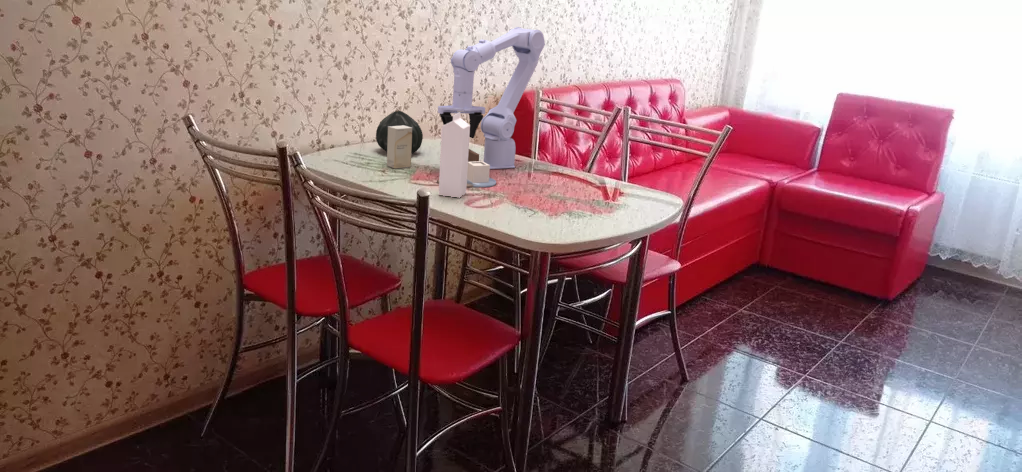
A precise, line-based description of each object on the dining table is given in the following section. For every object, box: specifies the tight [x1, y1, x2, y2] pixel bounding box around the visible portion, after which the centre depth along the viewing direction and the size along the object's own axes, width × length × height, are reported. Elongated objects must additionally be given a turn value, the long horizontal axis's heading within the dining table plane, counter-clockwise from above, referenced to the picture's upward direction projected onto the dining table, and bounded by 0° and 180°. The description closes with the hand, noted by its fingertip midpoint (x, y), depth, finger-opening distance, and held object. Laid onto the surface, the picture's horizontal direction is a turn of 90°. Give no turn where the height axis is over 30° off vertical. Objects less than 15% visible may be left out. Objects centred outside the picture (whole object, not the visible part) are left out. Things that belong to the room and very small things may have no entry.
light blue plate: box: [467, 177, 497, 189], centre depth 215 cm, size 11×11×1 cm
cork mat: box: [436, 179, 474, 189], centre depth 211 cm, size 8×8×1 cm
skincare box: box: [386, 125, 412, 169], centre depth 224 cm, size 6×4×12 cm
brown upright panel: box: [468, 148, 480, 162], centre depth 224 cm, size 4×13×7 cm, turn 27°
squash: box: [375, 110, 424, 155], centre depth 241 cm, size 14×15×15 cm
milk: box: [438, 112, 470, 199], centre depth 198 cm, size 6×6×22 cm
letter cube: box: [467, 160, 491, 183], centre depth 214 cm, size 5×5×5 cm
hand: (459, 137), depth 222 cm, fingers open, 7 cm apart
